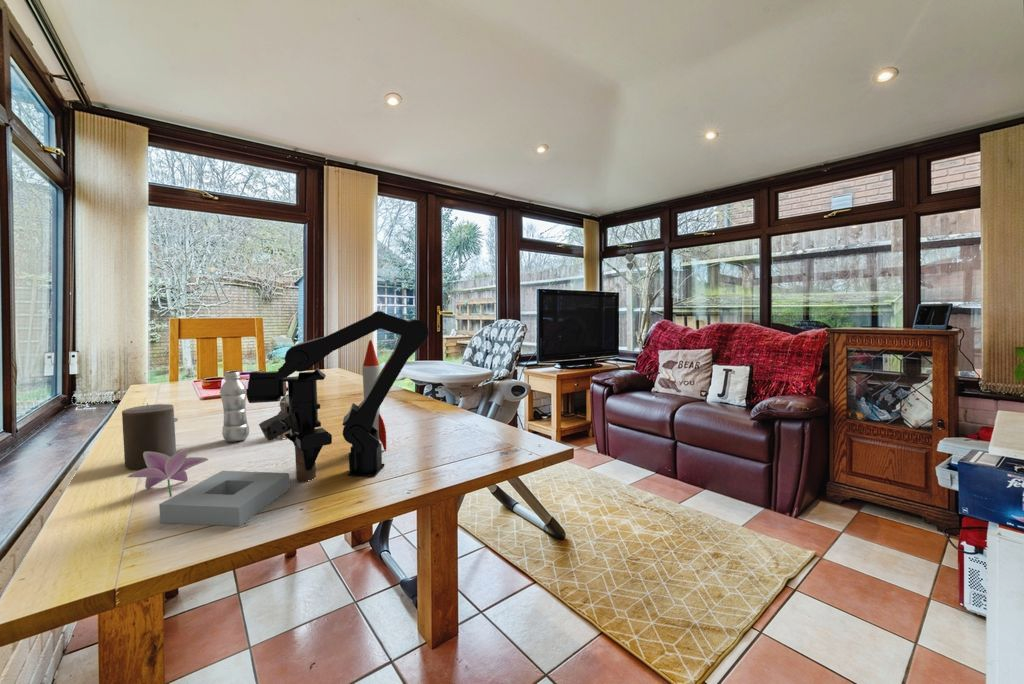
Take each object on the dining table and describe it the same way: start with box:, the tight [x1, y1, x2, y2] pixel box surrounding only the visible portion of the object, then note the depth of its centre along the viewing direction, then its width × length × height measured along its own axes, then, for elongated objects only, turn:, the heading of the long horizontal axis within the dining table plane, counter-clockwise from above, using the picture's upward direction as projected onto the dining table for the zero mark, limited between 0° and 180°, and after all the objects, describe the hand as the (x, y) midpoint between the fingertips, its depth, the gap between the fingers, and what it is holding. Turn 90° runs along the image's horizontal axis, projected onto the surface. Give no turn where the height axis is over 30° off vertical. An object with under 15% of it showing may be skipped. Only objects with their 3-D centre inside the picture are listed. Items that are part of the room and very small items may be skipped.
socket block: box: [158, 470, 291, 527], centre depth 82 cm, size 15×15×4 cm
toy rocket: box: [362, 339, 387, 451], centre depth 112 cm, size 6×6×30 cm
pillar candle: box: [121, 402, 177, 470], centre depth 103 cm, size 10×10×15 cm
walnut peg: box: [294, 440, 317, 482], centre depth 94 cm, size 4×4×9 cm
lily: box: [126, 448, 209, 498], centre depth 87 cm, size 12×12×10 cm
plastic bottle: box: [219, 370, 250, 443], centre depth 119 cm, size 6×7×20 cm
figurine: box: [276, 394, 289, 439], centre depth 124 cm, size 7×7×12 cm
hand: (305, 467), depth 94 cm, fingers closed on walnut peg, 4 cm apart
